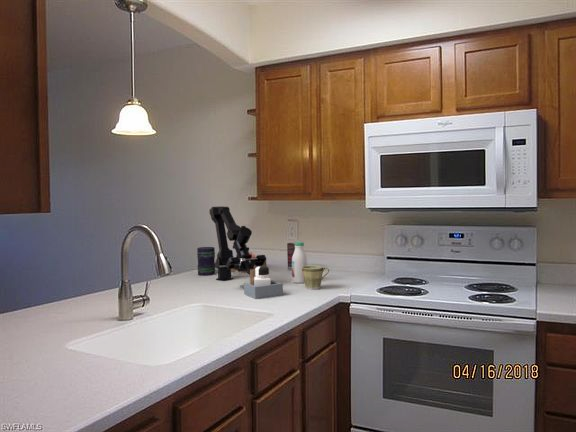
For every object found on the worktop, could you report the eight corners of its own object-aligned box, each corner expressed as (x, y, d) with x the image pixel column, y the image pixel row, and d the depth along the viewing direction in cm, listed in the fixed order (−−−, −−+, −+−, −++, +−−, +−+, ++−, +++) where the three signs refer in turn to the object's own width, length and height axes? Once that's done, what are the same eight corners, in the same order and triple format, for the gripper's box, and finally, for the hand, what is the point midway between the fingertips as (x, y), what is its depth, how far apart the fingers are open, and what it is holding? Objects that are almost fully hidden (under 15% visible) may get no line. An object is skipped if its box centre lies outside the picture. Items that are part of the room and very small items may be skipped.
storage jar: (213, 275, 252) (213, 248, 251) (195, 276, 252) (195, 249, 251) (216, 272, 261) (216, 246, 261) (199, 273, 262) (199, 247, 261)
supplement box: (303, 270, 264) (303, 243, 264) (298, 271, 261) (297, 243, 260) (292, 269, 270) (292, 242, 270) (287, 270, 267) (286, 243, 266)
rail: (240, 286, 219) (240, 285, 219) (244, 286, 221) (244, 284, 221) (247, 289, 212) (247, 288, 212) (251, 288, 214) (251, 287, 214)
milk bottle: (309, 281, 231) (309, 241, 230) (303, 283, 224) (303, 243, 223) (295, 280, 234) (295, 241, 234) (289, 282, 227) (288, 242, 227)
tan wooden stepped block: (245, 289, 208) (244, 269, 207) (260, 287, 212) (260, 268, 211) (249, 291, 204) (249, 271, 203) (265, 289, 208) (265, 269, 207)
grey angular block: (244, 294, 202) (243, 283, 202) (270, 290, 209) (270, 279, 209) (255, 298, 193) (255, 287, 192) (282, 295, 199) (282, 283, 199)
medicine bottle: (270, 291, 207) (269, 265, 207) (270, 295, 200) (270, 267, 199) (254, 292, 206) (253, 265, 206) (254, 295, 199) (254, 268, 199)
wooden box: (224, 271, 267) (223, 260, 267) (249, 265, 286) (249, 256, 286) (242, 273, 259) (242, 262, 259) (267, 267, 278) (267, 257, 278)
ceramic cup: (305, 291, 207) (304, 269, 207) (300, 286, 217) (299, 265, 216) (332, 289, 210) (332, 267, 209) (326, 285, 220) (326, 264, 219)
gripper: (254, 258, 229) (264, 284, 220) (219, 261, 220) (228, 288, 211) (261, 244, 222) (272, 270, 213) (225, 247, 213) (235, 274, 204)
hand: (252, 276), depth 210 cm, fingers closed
